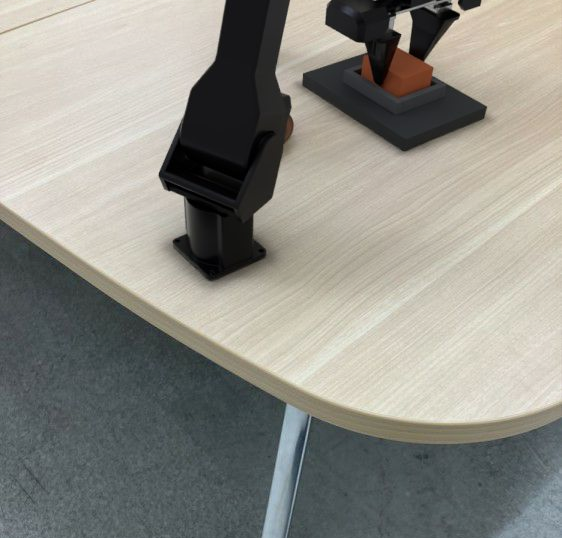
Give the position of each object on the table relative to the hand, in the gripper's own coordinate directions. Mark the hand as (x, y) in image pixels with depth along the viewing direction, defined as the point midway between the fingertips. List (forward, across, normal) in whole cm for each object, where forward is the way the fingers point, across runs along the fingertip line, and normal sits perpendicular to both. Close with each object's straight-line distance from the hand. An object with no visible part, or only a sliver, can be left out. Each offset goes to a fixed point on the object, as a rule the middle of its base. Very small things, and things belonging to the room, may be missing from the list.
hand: (395, 77), depth 92 cm
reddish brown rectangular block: (+1, 0, 0) cm, 1 cm away
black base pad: (+3, 0, 0) cm, 3 cm away
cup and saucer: (+3, +20, -3) cm, 21 cm away
